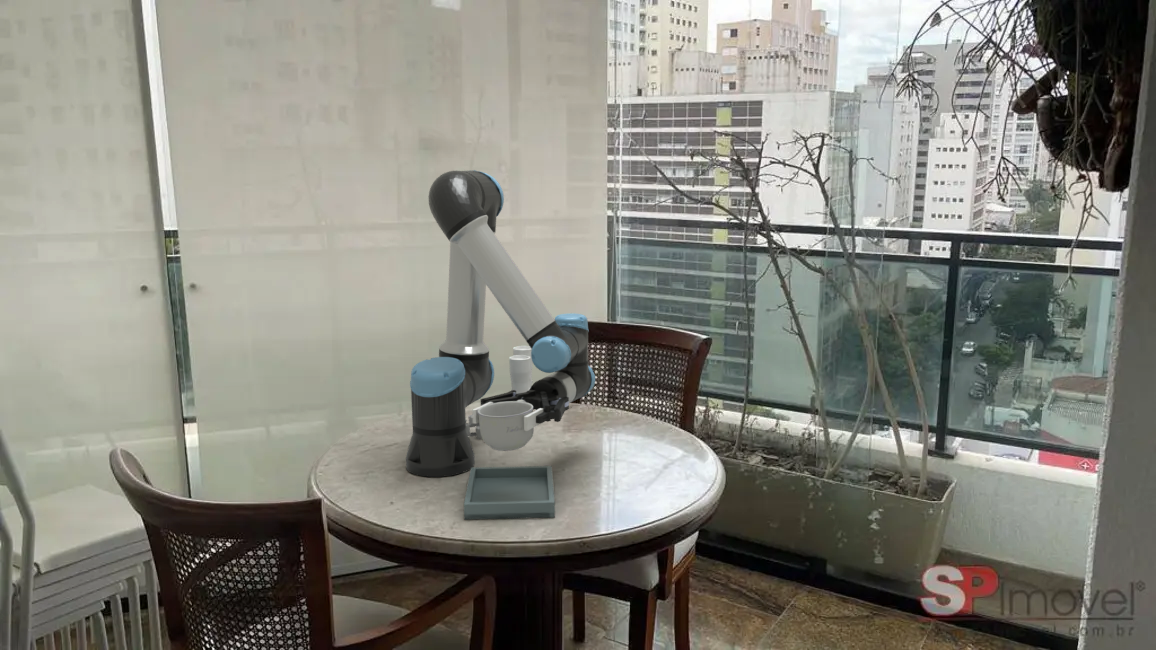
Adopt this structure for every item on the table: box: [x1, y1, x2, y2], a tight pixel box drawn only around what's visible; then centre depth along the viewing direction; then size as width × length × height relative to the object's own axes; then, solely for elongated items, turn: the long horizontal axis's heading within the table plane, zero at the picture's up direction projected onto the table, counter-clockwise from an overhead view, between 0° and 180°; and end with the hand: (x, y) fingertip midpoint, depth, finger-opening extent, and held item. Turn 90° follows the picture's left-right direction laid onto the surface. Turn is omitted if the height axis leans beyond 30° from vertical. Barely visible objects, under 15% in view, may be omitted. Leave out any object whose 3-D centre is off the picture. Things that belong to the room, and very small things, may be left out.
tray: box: [463, 465, 556, 521], centre depth 167 cm, size 17×20×3 cm
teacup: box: [478, 400, 535, 452], centre depth 165 cm, size 14×11×8 cm
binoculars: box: [508, 345, 534, 394], centre depth 220 cm, size 17×5×18 cm, turn 0°
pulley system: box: [466, 414, 483, 440], centre depth 211 cm, size 27×5×15 cm
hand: (499, 420), depth 161 cm, fingers closed on teacup, 11 cm apart
